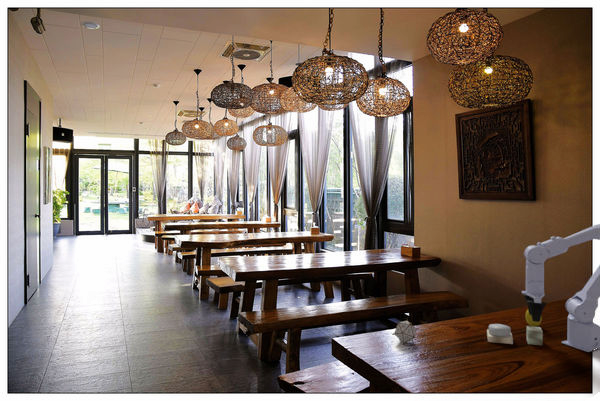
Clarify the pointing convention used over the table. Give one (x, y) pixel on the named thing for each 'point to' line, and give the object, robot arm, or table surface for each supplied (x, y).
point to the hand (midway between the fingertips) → (534, 318)
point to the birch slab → (499, 339)
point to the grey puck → (499, 330)
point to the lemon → (530, 321)
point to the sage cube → (534, 335)
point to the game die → (405, 331)
